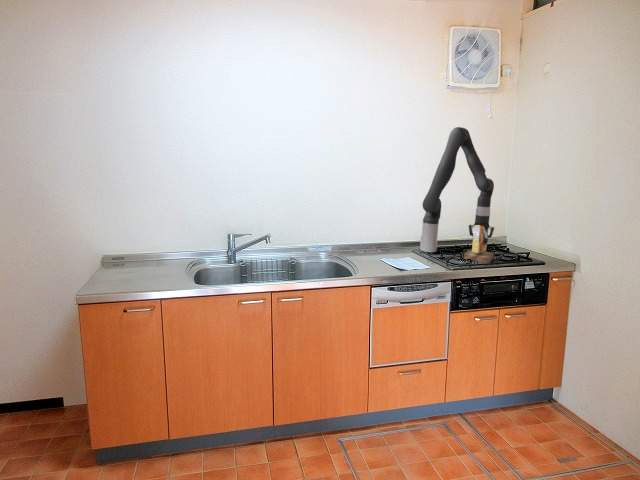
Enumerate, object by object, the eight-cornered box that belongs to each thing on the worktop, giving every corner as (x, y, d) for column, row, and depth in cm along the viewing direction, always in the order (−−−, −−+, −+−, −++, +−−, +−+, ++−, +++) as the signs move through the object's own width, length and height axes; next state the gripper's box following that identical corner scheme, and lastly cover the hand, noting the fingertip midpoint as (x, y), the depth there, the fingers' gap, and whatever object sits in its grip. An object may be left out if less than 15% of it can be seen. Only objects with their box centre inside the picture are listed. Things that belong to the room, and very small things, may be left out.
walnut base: (463, 259, 263) (463, 254, 263) (468, 254, 275) (468, 249, 275) (489, 263, 257) (489, 257, 256) (493, 258, 269) (493, 253, 268)
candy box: (479, 249, 270) (482, 223, 267) (486, 251, 267) (489, 224, 264) (471, 251, 264) (473, 225, 261) (478, 253, 261) (480, 226, 258)
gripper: (468, 213, 261) (465, 243, 264) (495, 216, 254) (492, 246, 258) (470, 212, 268) (468, 241, 271) (497, 214, 261) (494, 244, 264)
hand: (479, 243), depth 264 cm, fingers closed on candy box, 5 cm apart
